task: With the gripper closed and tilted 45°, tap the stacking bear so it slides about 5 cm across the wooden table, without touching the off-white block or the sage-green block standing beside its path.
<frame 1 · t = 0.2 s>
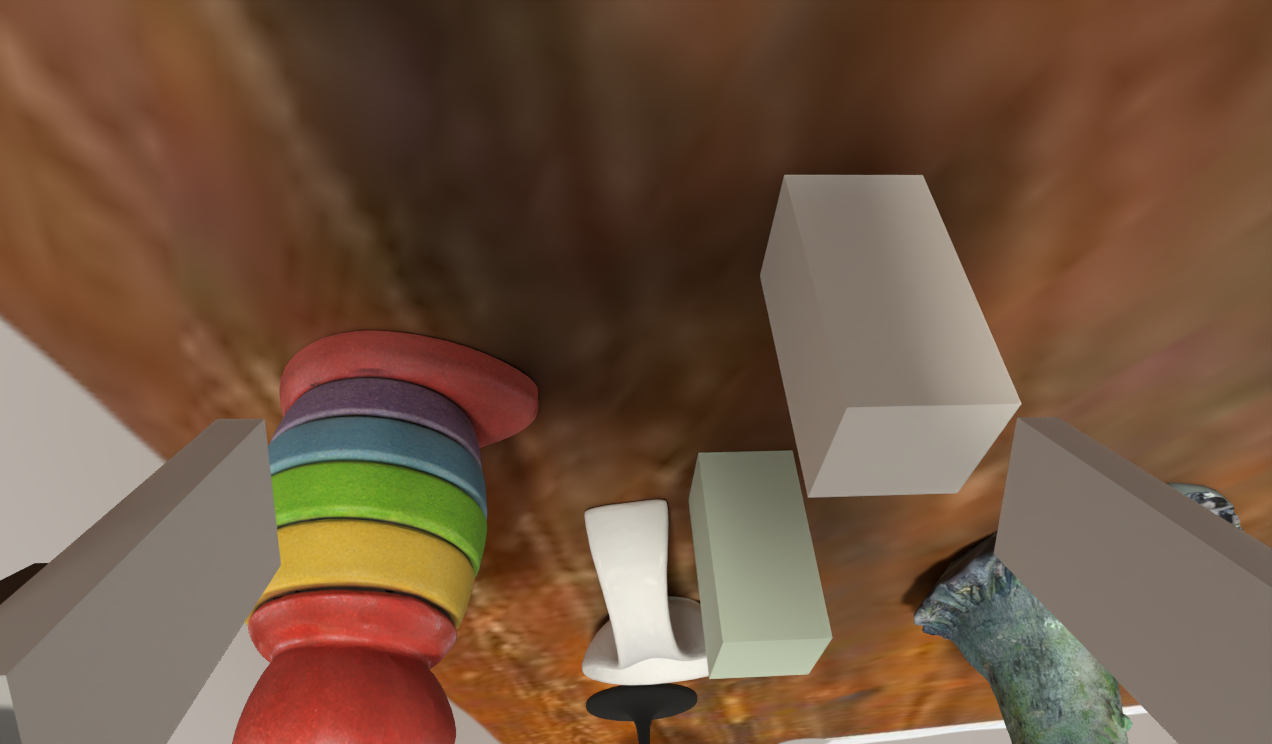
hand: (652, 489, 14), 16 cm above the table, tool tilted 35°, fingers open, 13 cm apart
tree stump: (1058, 551, 56), on the table
off-white block: (836, 228, 31), on the table
stacking bear: (396, 391, 38), on the table
wine glass: (641, 698, 76), on the table
sage-green block: (738, 476, 45), on the table
spoon rest: (649, 577, 56), on the table
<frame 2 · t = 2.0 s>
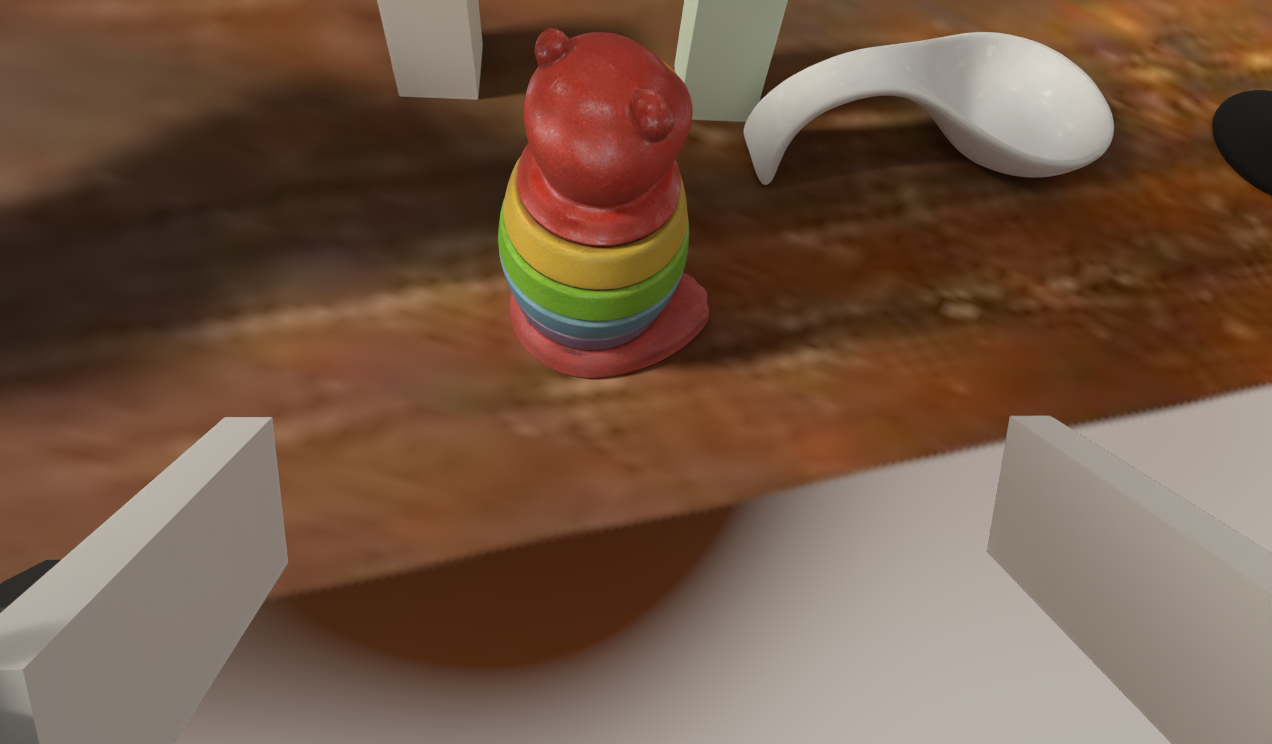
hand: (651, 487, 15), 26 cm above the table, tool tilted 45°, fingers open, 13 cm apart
off-white block: (442, 70, 54), on the table
stacking bear: (594, 307, 47), on the table
sage-green block: (713, 92, 55), on the table
spoon rest: (917, 149, 55), on the table
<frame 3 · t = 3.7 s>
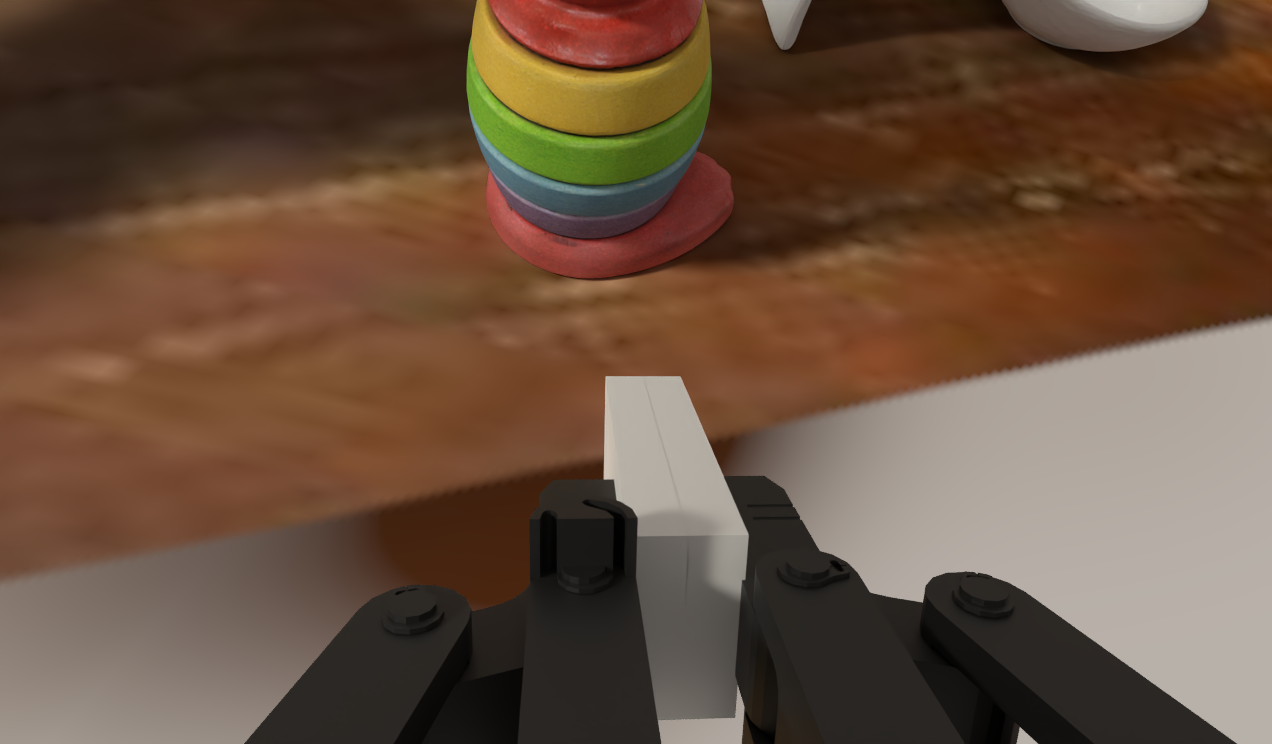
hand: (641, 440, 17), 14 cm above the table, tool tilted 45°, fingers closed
stacking bear: (591, 198, 38), on the table
spoon rest: (967, 22, 46), on the table
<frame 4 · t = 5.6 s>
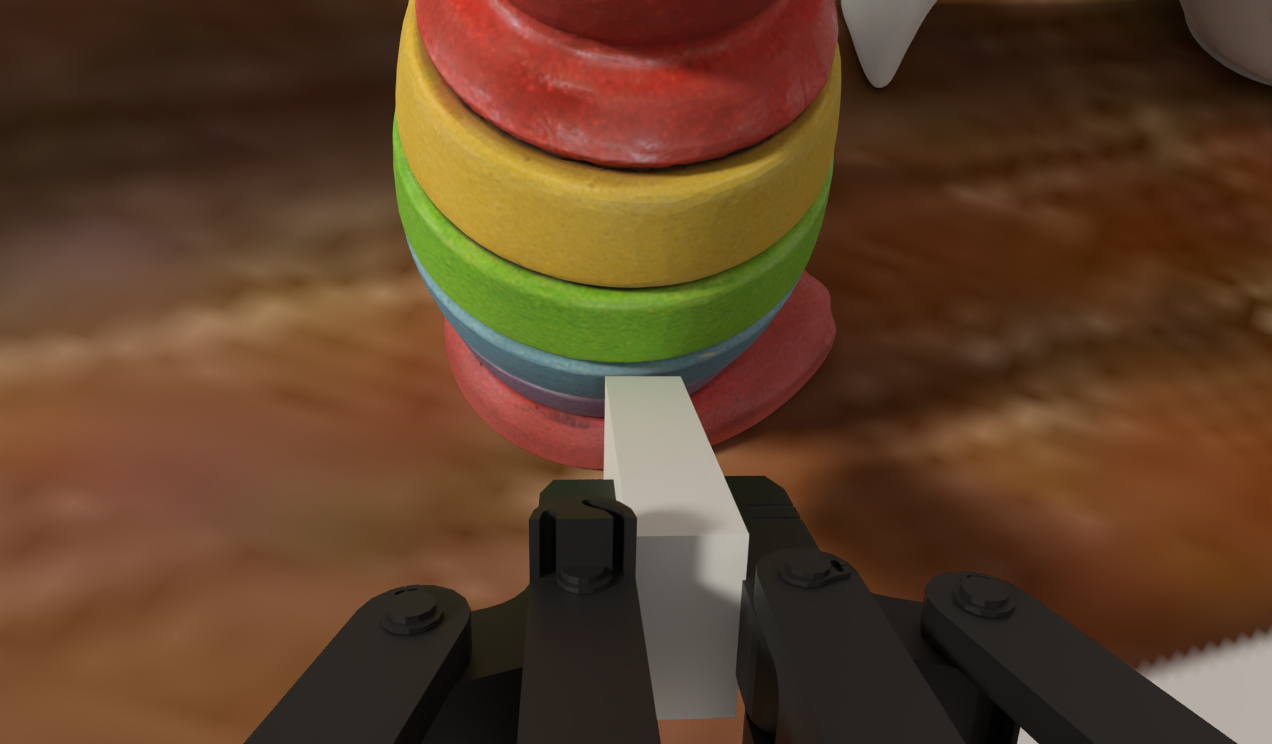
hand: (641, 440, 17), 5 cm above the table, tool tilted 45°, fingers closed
stacking bear: (611, 325, 24), on the table, touching gripper
spoon rest: (1132, 49, 32), on the table
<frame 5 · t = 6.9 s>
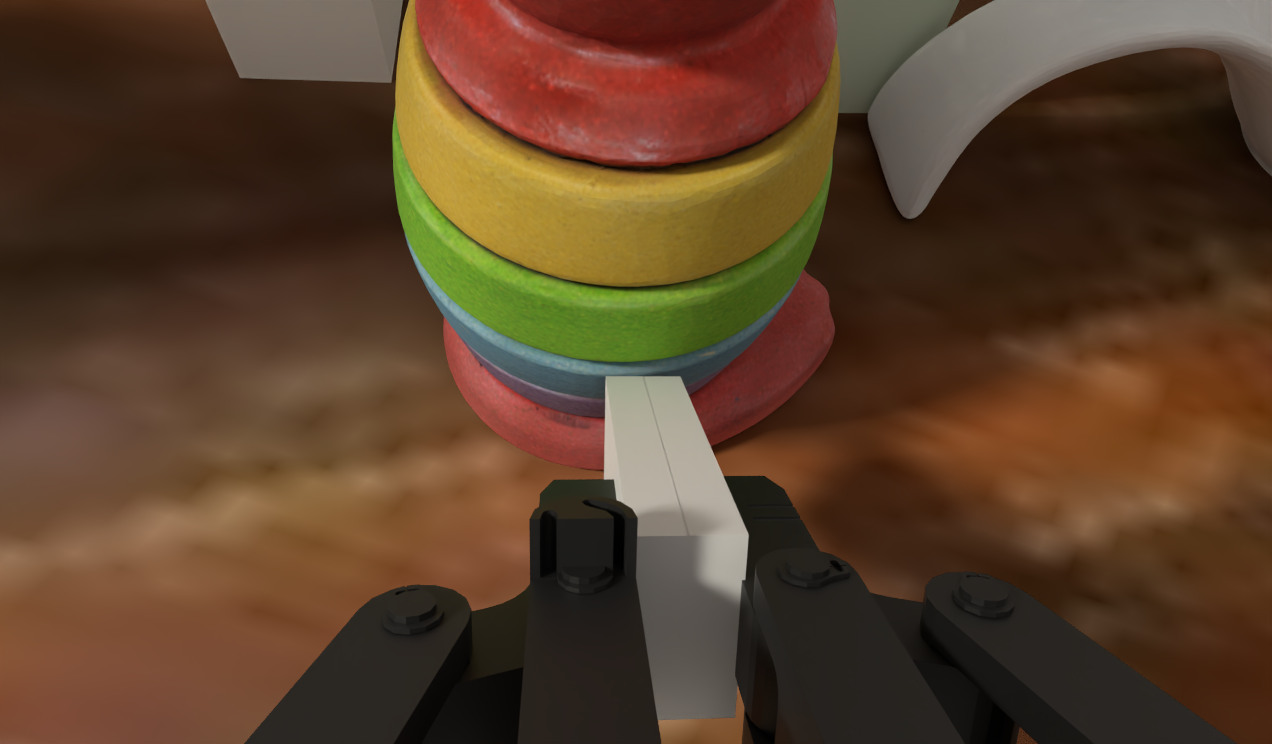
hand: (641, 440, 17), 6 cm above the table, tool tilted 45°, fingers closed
off-white block: (326, 29, 29), on the table
stacking bear: (610, 325, 24), on the table, touching gripper
sage-green block: (824, 62, 30), on the table
spoon rest: (1184, 165, 30), on the table
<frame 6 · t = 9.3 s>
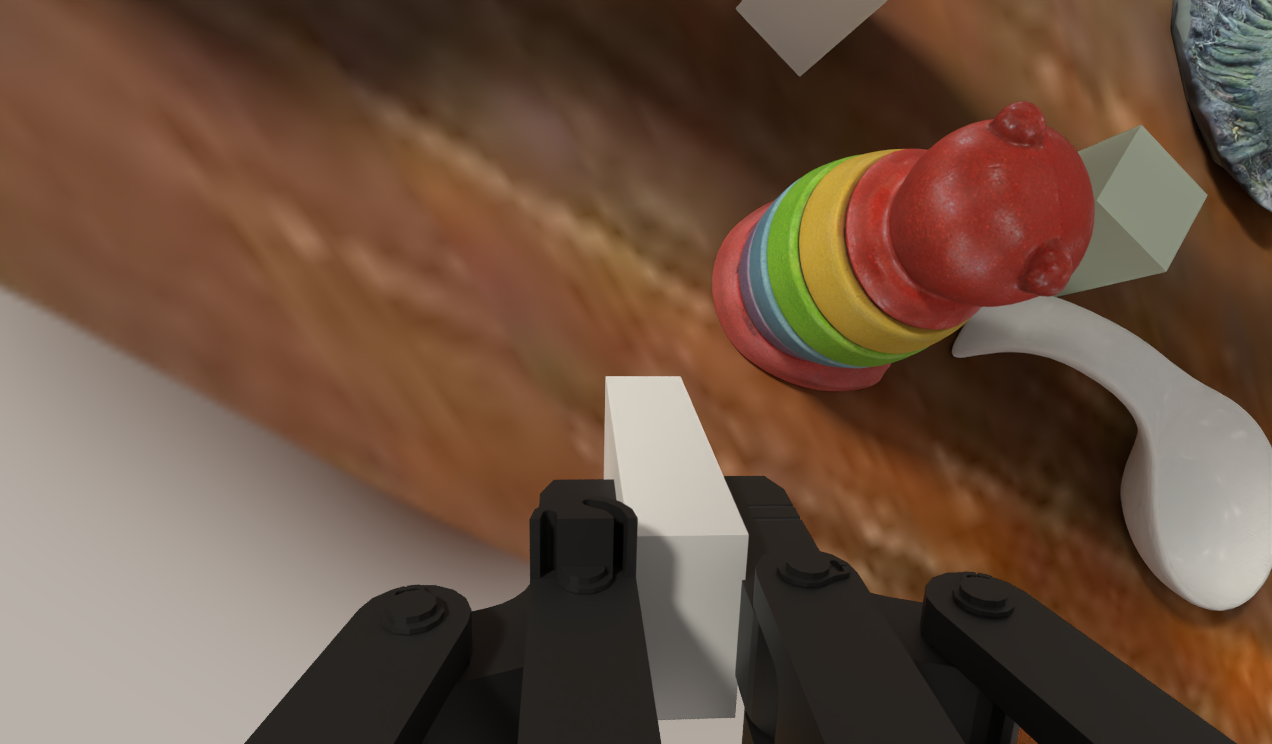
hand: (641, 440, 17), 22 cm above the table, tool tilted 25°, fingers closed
tree stump: (1256, 94, 57), on the table
off-white block: (793, 14, 45), on the table
stacking bear: (792, 292, 44), on the table
sage-green block: (998, 248, 48), on the table
spoon rest: (1093, 445, 49), on the table
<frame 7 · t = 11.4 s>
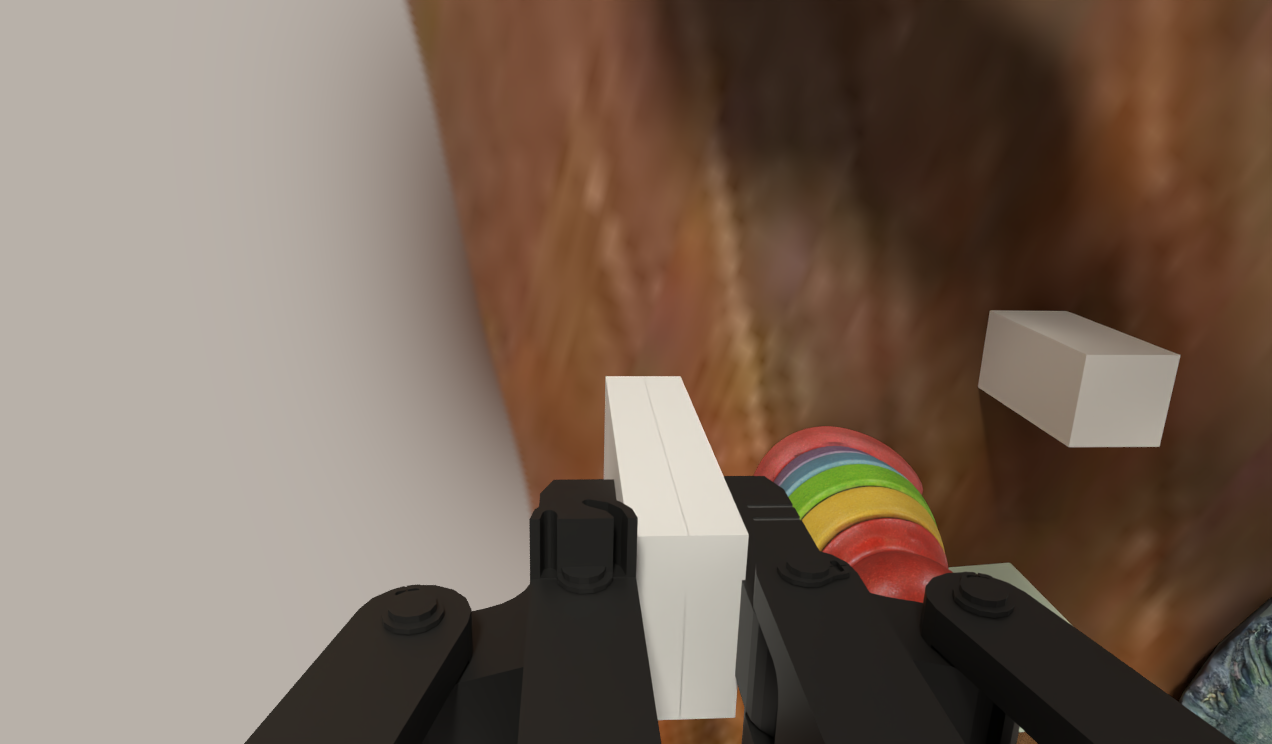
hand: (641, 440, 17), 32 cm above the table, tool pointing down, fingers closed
off-white block: (1021, 349, 52), on the table
stacking bear: (819, 491, 54), on the table
sage-green block: (971, 597, 57), on the table
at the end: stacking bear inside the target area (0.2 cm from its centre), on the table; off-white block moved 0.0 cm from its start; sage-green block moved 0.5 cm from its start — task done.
